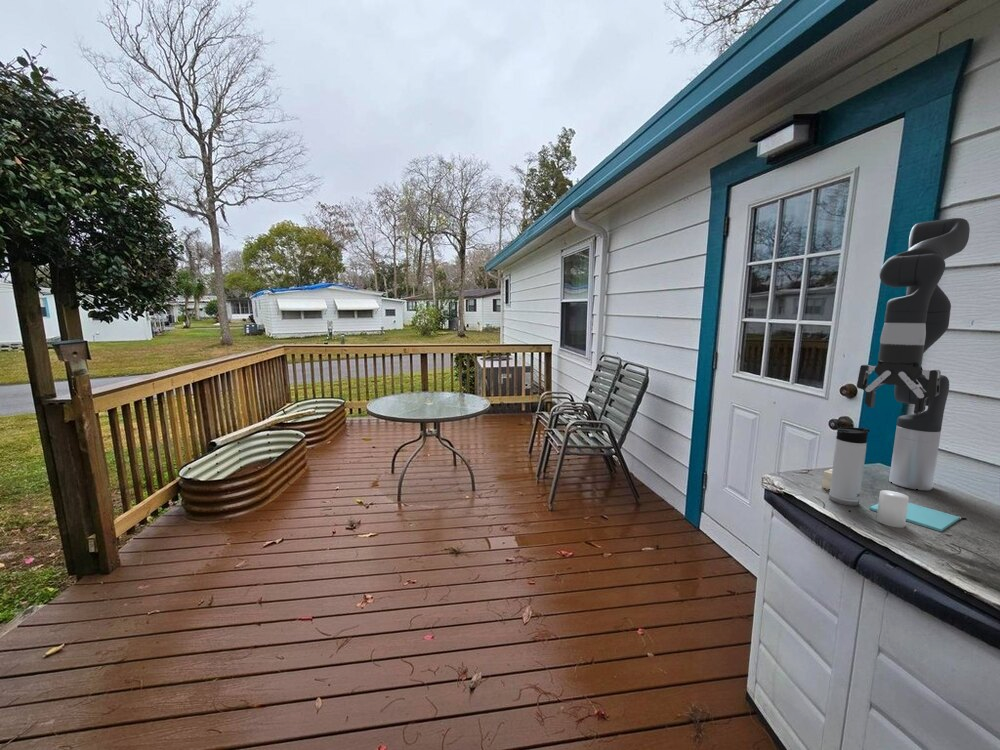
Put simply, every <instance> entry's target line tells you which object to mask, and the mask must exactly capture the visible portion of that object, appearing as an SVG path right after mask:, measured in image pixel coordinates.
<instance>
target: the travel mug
mask: <svg viewBox="0 0 1000 750" xmlns="http://www.w3.org/2000/svg"><path fill="white" fill-rule="evenodd" d="M836 430H837V431H836V437H835V443H834V444H835V445H834V453H833V460H832V468H831V469H832V476H831V485H830V490H829V494H828V495H829V496H828V498H829V500H831V501H832V502H834V503H837V504H840V505H843V506H851V507H852V506H853V507H854V506H855V507H856V506H858V505H860V498H861V491H862V484H863V477H864V469H865V461H866V453H867V444H868V435H869V433H870V429H868V428H865V427H861V428H860V427H853V426H852V427H846V426H844V427H838V428H837V429H836Z"/></svg>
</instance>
